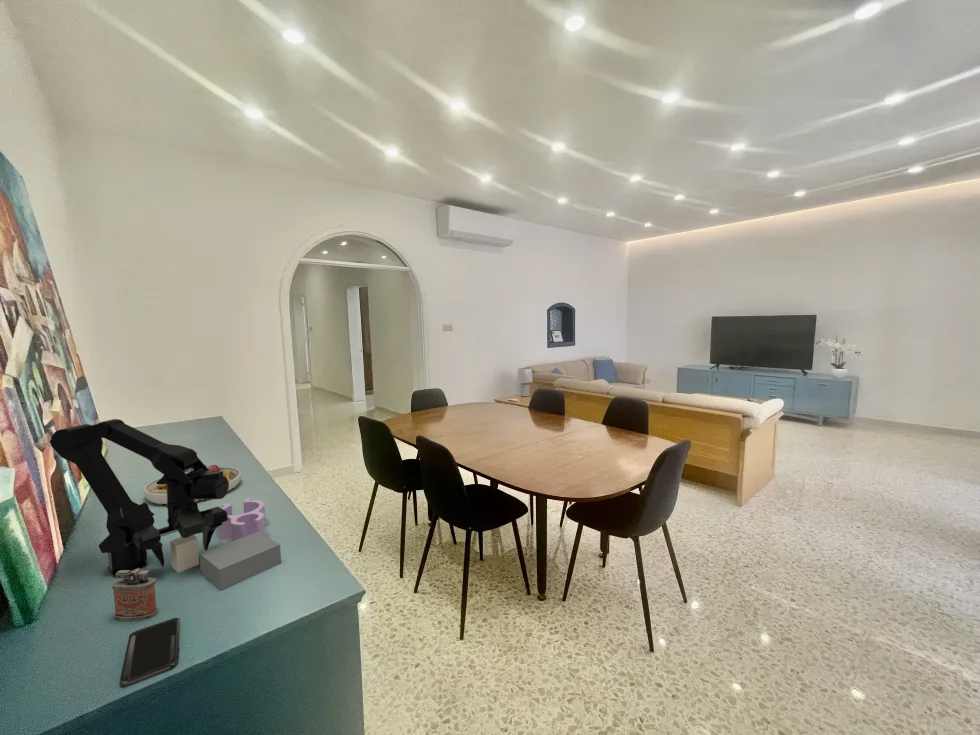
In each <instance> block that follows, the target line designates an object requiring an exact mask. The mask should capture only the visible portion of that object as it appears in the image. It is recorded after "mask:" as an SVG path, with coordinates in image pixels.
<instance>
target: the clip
mask: <svg viewBox="0 0 980 735" xmlns="http://www.w3.org/2000/svg"><path fill="white" fill-rule="evenodd" d="M242 503H243V513H240V514H233V505H232V503H222V504H221V508H222V509H223V510H225V511H227V514H228V520H227V521H225V522H222V525H221V526H219V527H217V528H216V531H217V532H216V533H217V538H219V539H220V540H229V541H230V542H232V541H235V540H237V539H240V538H243V537H245V536H248V535H251V534H253V533H256V532H260V533H262V534H263V535H265V536H266V530H265V529H266V528H265V527H266V514H265V511H266V510H265V509H266V508H265V502H263V501H262V500H258V499H252V498H251V497H247V498H246V499H244V500H243V502H242Z"/></svg>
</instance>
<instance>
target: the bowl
mask: <svg viewBox="0 0 980 735" xmlns="http://www.w3.org/2000/svg"><path fill="white" fill-rule="evenodd" d="M203 464H204V463H203ZM204 465H205V466H206V467H207V465H206V464H204ZM207 468H208V470H209V471H208V472H219V471H222V472H223V476H225V477H226V478H227V480H228V481H229V488H228V492H230V491H232V490H233V489H234V488H236V487H237V486H238V484H239V483H240V482H241V479H242V471H241V470H240V469H238V468H234V467H226V466H220V467H219V466H218V465H217V464H212V465H209V466H208V467H207ZM193 470H194V469H191V470H188V471H186V472H185V473H186V474H187V473H189V472H191V471H193ZM208 472H206V473H208ZM161 478H162V477H159V478H157V479H155V480H152V481H151V482H149V483H147V484H146V485H145V486H144V487H143V495H144V497H145V498H146V500H148V501H149V502H151V503H153V504H157V505H162V504H167V489H166V484H157V481H159V480H160V479H161ZM236 485H237V486H236ZM232 488H233V489H232ZM231 489H232V490H231ZM229 490H230V491H229ZM200 500H203V499H200ZM196 501H199V500H198V499H196ZM203 501H204V500H203ZM199 502H200V501H199Z"/></svg>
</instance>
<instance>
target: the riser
mask: <svg viewBox="0 0 980 735" xmlns="http://www.w3.org/2000/svg"><path fill="white" fill-rule="evenodd" d="M281 550H282V549H281V544H280V543H278V542H277V541H275V540H273V539H271V538H270V537H269V536H267V535H266V534H265V535H263V534H262V533H260V532H256V533H253V534H251V535H248V536H245V537H243V538H240V539H237V540H235V541H230V542H226V543H224V544H222V545H220V546H216V547H214V548H211V549H207V550H206V551H205V550H204V551H203V552H200V553H199V570H200V573H201V575H202V576H204V577H205V578H206V579H207V580H208V581H210V582H211V583H212V584H213V585H214V586H216V588H217V589H218V590H220V591H222V590H224V589H227V588H229V587H230V586H233V585H236V584H237V583H240V582H242V581H245V580H246V579H248V578H251V577H253V576H255V575H258V574H259V573H262V572H265V571H266V570H268V568H269V569H271V568H272V567H275V566H277V565H280V564H281V563H282V556H281V553H282V552H281Z"/></svg>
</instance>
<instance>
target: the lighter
mask: <svg viewBox="0 0 980 735" xmlns="http://www.w3.org/2000/svg"><path fill="white" fill-rule="evenodd" d="M149 575H150V574H149V570H142V569H141V568H137V569H135V570H132V571H130V570H120V571H118V572H117V573H116V577H115V579H116V581H115V582H113V583H112V584H111V587H112V590H113V597H114V599H113V600H114V612H115V613H114V614H113V617H114V620H115V621H118V622H120V621H121V622H138V621H145V620H149V619H153V618H154V617H155V616H157V614H158V612H159V611H158V607H157V599H156V597H157V596H156V584H157V583H156V578H155V577H149ZM118 579H119V580H118Z"/></svg>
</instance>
